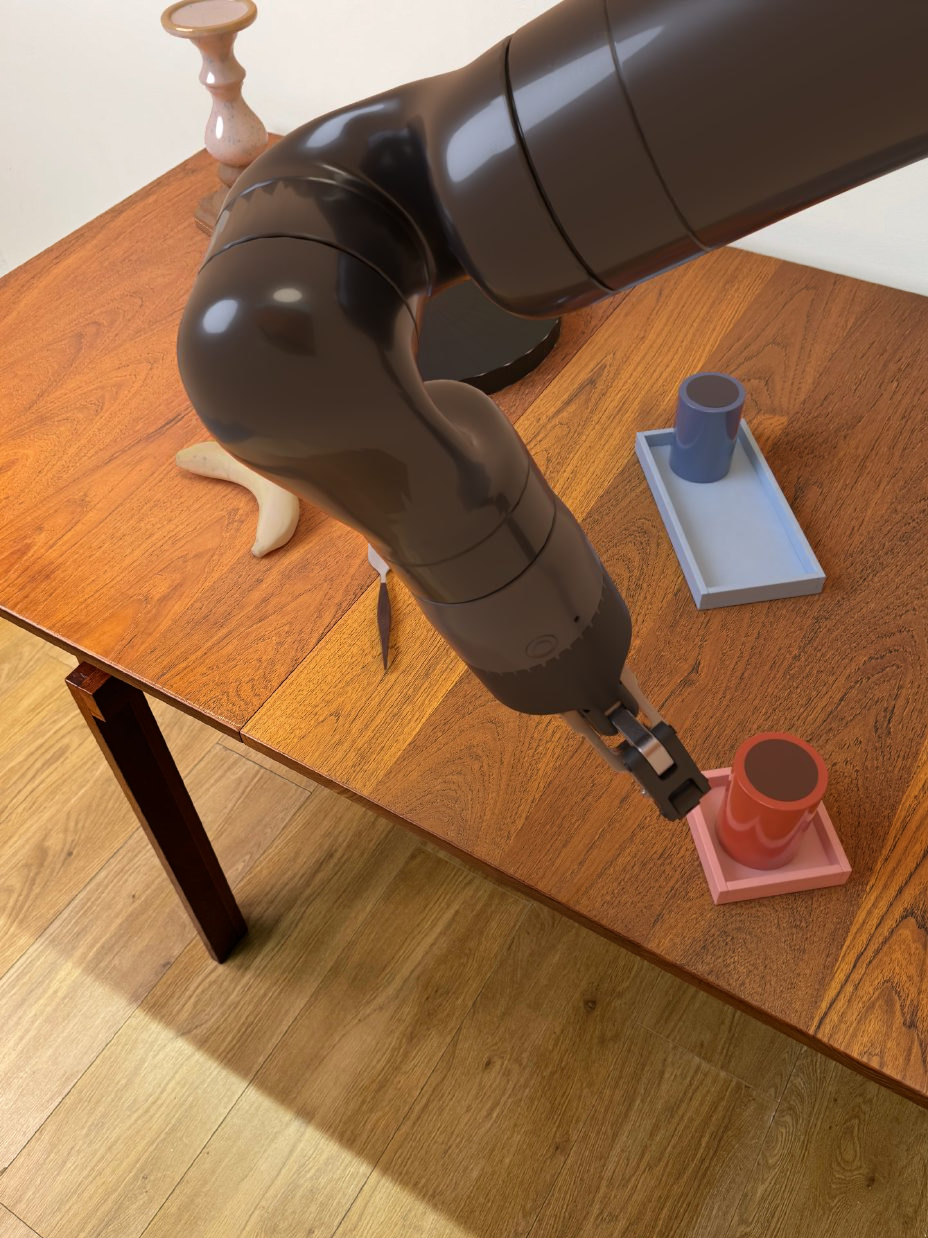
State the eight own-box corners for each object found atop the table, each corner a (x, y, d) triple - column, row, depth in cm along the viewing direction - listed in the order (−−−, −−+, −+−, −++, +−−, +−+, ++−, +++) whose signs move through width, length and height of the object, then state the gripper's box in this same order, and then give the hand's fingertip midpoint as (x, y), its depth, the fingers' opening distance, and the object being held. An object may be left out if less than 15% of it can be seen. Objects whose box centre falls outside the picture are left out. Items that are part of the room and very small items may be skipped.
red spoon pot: (783, 789, 69) (808, 724, 63) (813, 863, 65) (843, 802, 59) (704, 802, 69) (722, 737, 62) (730, 876, 65) (751, 816, 59)
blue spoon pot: (720, 439, 93) (734, 367, 87) (739, 479, 89) (755, 406, 83) (661, 447, 92) (671, 375, 86) (678, 487, 89) (689, 415, 83)
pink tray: (797, 770, 70) (803, 755, 69) (844, 884, 65) (852, 870, 63) (677, 789, 70) (680, 774, 68) (714, 905, 64) (719, 892, 63)
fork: (369, 675, 78) (366, 660, 76) (368, 530, 88) (365, 514, 86) (402, 672, 78) (400, 657, 76) (397, 528, 88) (395, 512, 86)
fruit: (243, 441, 97) (235, 413, 94) (327, 524, 89) (321, 497, 86) (177, 474, 94) (167, 446, 91) (258, 563, 86) (249, 536, 83)
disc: (621, 323, 106) (623, 298, 104) (397, 449, 95) (394, 424, 92) (444, 221, 122) (443, 197, 119) (233, 318, 110) (227, 294, 108)
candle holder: (242, 258, 118) (190, 39, 100) (194, 225, 124) (136, 12, 105) (317, 224, 122) (280, 8, 104) (267, 193, 128) (224, -17, 110)
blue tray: (740, 434, 94) (744, 417, 92) (820, 593, 81) (826, 576, 79) (634, 448, 93) (636, 432, 92) (698, 610, 80) (701, 594, 79)
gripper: (688, 628, 38) (775, 795, 50) (500, 464, 48) (610, 636, 60) (540, 755, 38) (662, 892, 50) (382, 565, 48) (515, 718, 60)
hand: (633, 753), depth 55 cm, fingers open, 8 cm apart
